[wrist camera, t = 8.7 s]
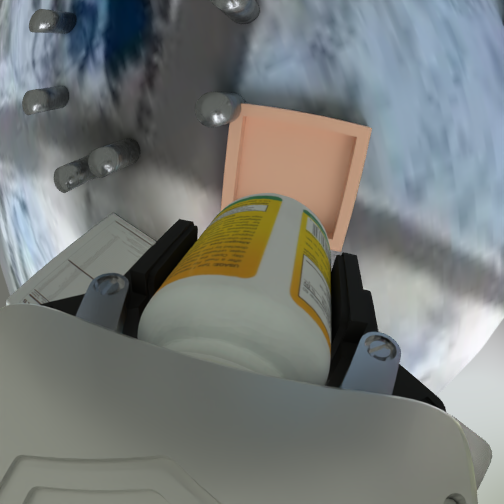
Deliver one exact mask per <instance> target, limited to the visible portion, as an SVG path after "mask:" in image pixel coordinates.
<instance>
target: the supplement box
mask: <svg viewBox="0 0 504 504" xmlns="http://www.w3.org/2000/svg"><path fill="white" fill-rule="evenodd" d="M155 243H156V241H154V240H153V239H151V238H150V237H148V236H147V235H145V234H144V233H142V232H141V231H139V230H138V229H136V228H135V227H133V226H132V225H130V224H129V223H127V222H126V221H125V220H123V219H122V218H120V217H119V216H117V215H116V214H114V213H112V214H111V215H109V216H108V217H107V218H105V219H104V220H103V221H101V222H100V223H99V224H97V225H96V226H94V227H93V228H92V229H90V230H89V231H88V232H87V233H85V234H84V235H83V236H81V237H80V238H79V239H77V240H76V241H75V242H74V243H72V244H71V245H70V246H68V247H67V248H66V249H65V250H63V251H62V252H61V253H60V254H59V255H57V256H56V257H55V258H54V259H52V260H51V261H50V262H49V263H48V264H46V265H45V266H44V267H43V268H42V269H40V270H39V271H38V272H37V273H36V274H35V275H33V276H32V277H31V278H30V279H29V280H28V281H27V282H25V283H24V284H23V285H22V286H21V287H20V288H19V289H18V290H17V291H15V292H14V293H13V294H12V295H11V296H10V297H9V298H8V299H7V301H6V305H7V306H8V305H11V304H20V303H23V304H36V305H40V304H43V303H47V302H51V301H55V300H60V299H64V298H68V297H72V296H77V295H81V294H85V293H86V291H87V289H88V287H89V285H90V283H91V281H92V280H93V279H94V278H96V277H97V276H100V275H102V274H106V273H118V274H121V275H124V274H125V273H126V272H127V271H128V270H129V269H130V268H131V267H132V266H133V265H134V264H135V263H136V262H137V261H138V260H139V259H140V257H141V256H142V255H143V254H144V253H145V252H146V251H147V250H148V249H149V248H150V247H151V246H153V245H154V244H155Z"/></svg>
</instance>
